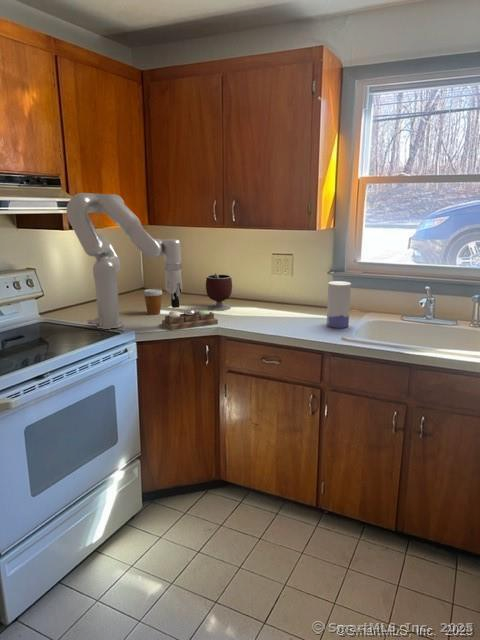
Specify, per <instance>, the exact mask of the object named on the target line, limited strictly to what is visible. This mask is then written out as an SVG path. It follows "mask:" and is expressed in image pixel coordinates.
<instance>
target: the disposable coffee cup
mask: <svg viewBox="0 0 480 640" xmlns="http://www.w3.org/2000/svg"><path fill="white" fill-rule="evenodd" d="M142 294H143V296H144V301H145V305H146V312H147V315H150V316H154V315H155V316H156V315H160V314H161V308H162V305H161V304H162V295H163V290H162V289H161V288H148V289H147V288H146V289H145V290H144V292H143V293H142Z"/></svg>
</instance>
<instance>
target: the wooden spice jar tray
mask: <svg viewBox="0 0 480 640" xmlns="http://www.w3.org/2000/svg"><path fill="white" fill-rule="evenodd" d="M161 322H162V323H161V324H162V325H163V326H164V327H166V328H167V329H169V330H170V331H176V330H183V329H185V330H186V329H191V328H197V327H204V326H206V327H207V326H212V325H218V324H219V322H218V319H217V318H215V313H214V312H211V311H210V314H204V315H201V314H199V311H195V316H188V317H186V316H184V313H180V318H172V319H171V318H169V314H168V315H165V316H164V319H162V320H161Z"/></svg>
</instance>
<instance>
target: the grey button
mask: <svg viewBox="0 0 480 640" xmlns="http://www.w3.org/2000/svg"><path fill="white" fill-rule="evenodd" d="M195 312H196V310H195V309H185V310H184V313H183V314H184V316H186V317H188V316H195Z"/></svg>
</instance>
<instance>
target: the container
mask: <svg viewBox="0 0 480 640" xmlns="http://www.w3.org/2000/svg"><path fill="white" fill-rule="evenodd" d="M327 286H328V287H327V288H328V289H327V306H326V307H327V309H326V326H328V327H330V328H335V329H344V328H348V327H349V323H350V321H349V320H350V307H351V306H350V305H351V288H352V287H351V286H352V283H351V282H349V281H344V280H343V281H341V280H337V281H336V280H335V281H329V282H328V285H327Z"/></svg>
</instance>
